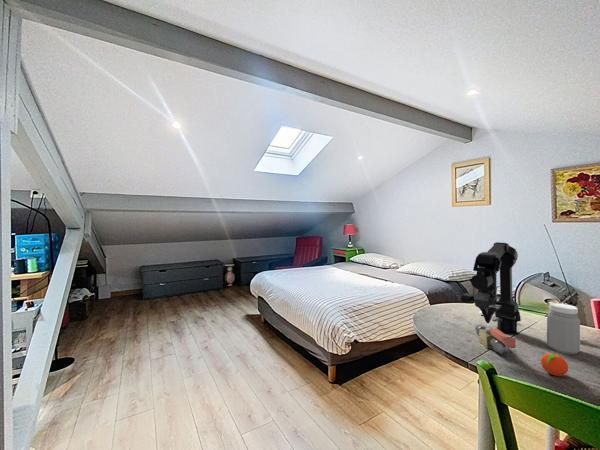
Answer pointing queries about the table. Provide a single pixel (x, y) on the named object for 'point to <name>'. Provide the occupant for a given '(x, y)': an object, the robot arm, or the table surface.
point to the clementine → (554, 364)
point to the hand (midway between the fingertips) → (487, 322)
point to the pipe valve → (491, 341)
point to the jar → (563, 328)
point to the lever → (501, 337)
